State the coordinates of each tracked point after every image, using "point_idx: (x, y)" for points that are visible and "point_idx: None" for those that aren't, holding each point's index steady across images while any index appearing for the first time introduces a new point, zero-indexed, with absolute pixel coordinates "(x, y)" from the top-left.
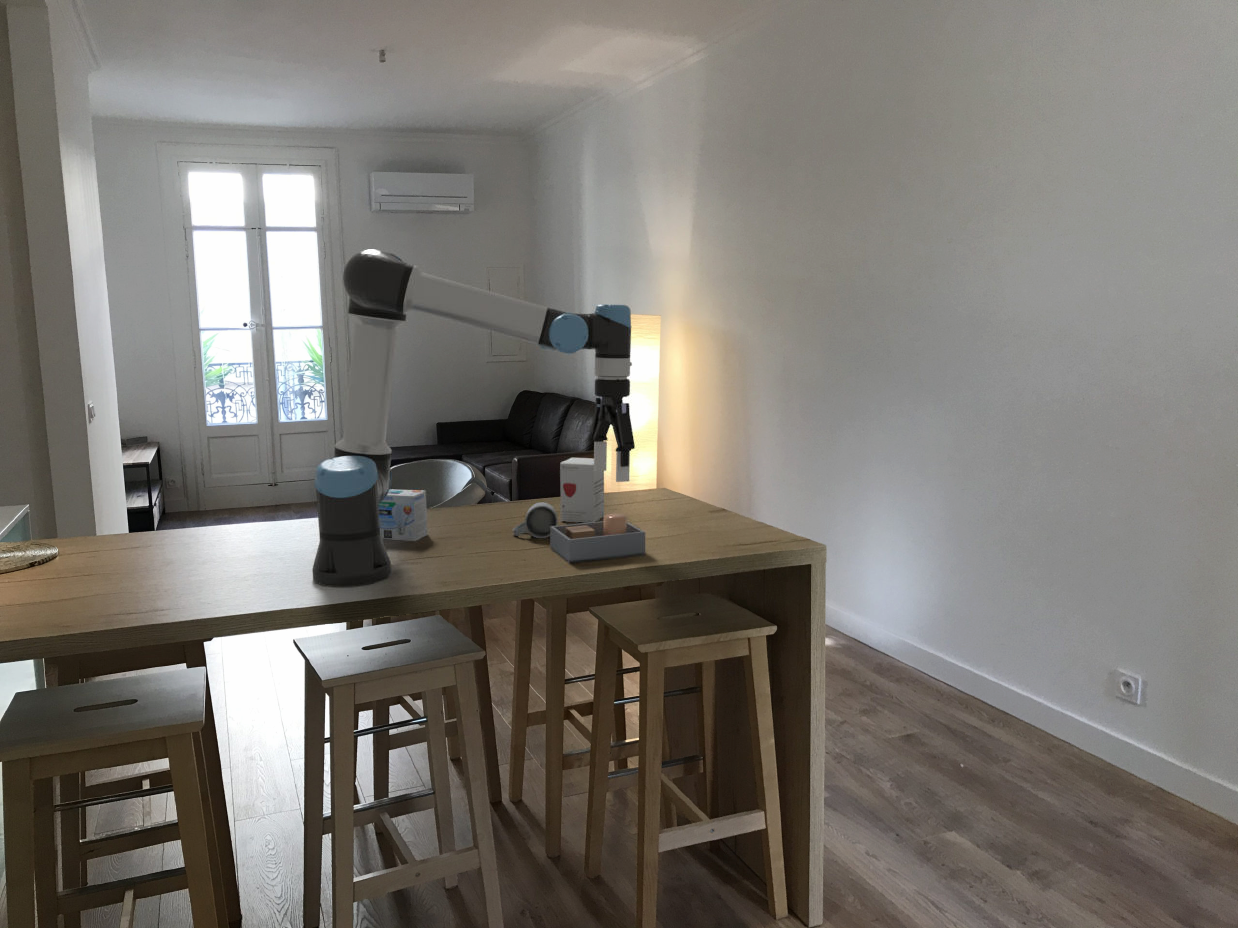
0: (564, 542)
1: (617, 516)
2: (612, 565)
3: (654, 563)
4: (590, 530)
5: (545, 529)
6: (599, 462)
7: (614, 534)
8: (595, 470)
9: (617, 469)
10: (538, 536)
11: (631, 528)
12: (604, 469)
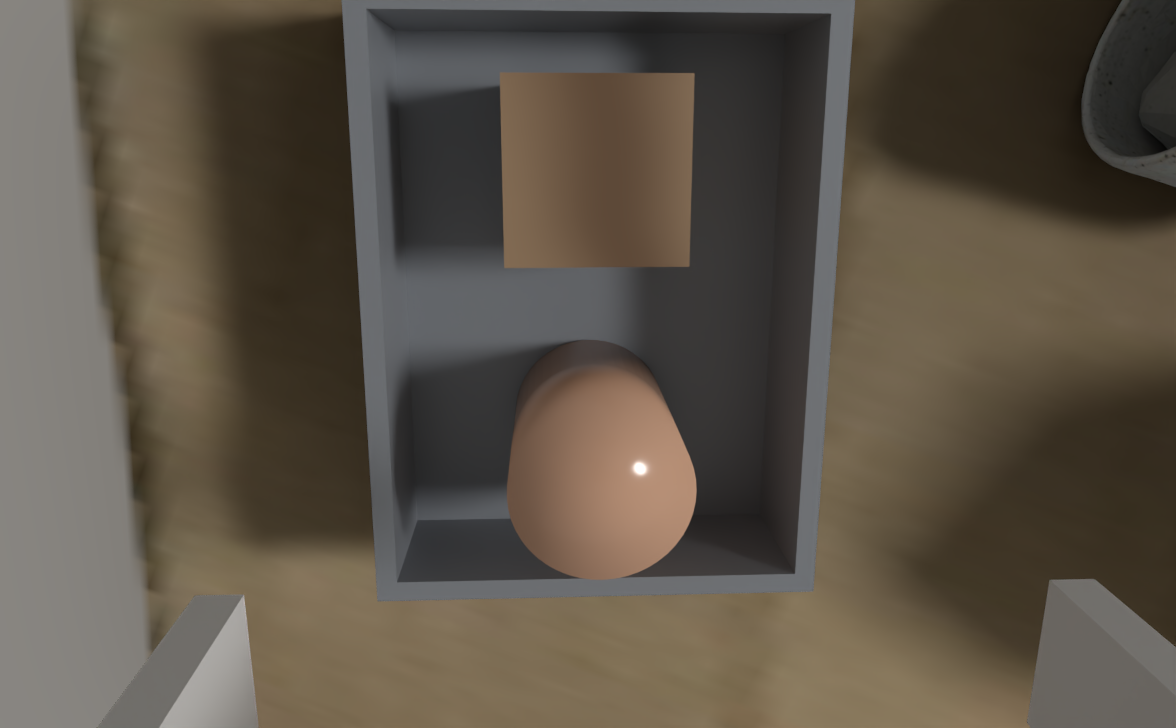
0: None
1: (581, 506)
2: (236, 263)
3: (198, 509)
4: (510, 234)
5: (1156, 86)
6: (1108, 709)
7: (518, 416)
8: (1053, 589)
9: (116, 704)
10: (1119, 25)
11: None
12: (1040, 709)
